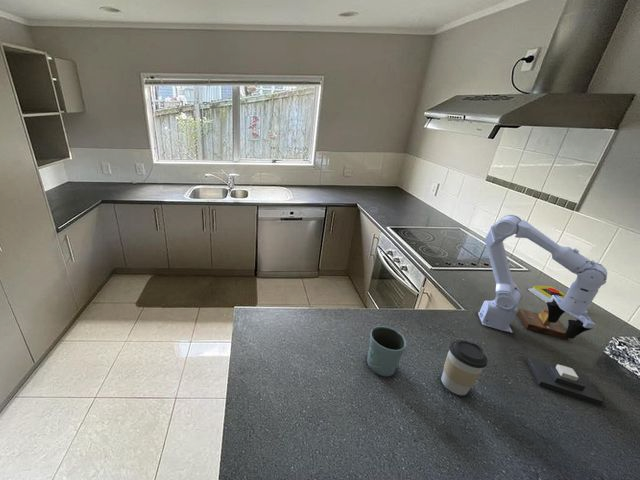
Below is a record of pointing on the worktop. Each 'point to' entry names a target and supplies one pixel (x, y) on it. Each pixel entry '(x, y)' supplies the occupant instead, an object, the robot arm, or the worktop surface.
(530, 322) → the brown flat block
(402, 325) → the worktop surface
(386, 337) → the teal cup
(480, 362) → the coffee cup
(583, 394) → the dark grey base plate
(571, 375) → the white square block
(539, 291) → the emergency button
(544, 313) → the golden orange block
